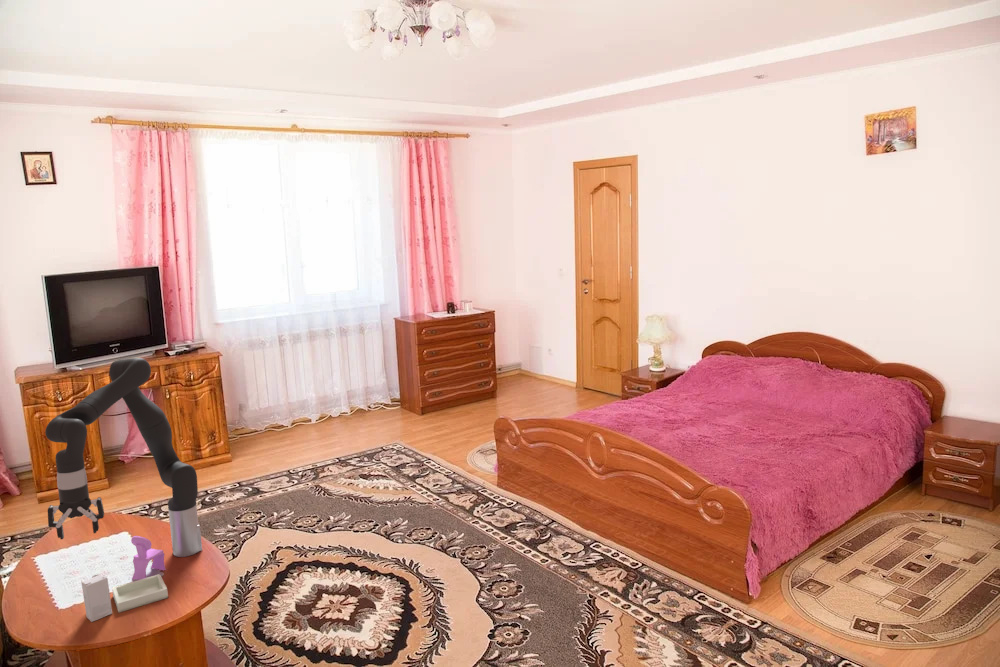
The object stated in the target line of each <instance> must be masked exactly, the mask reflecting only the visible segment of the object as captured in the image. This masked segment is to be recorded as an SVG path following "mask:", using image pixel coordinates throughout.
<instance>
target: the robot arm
mask: <svg viewBox="0 0 1000 667" xmlns="http://www.w3.org/2000/svg"><path fill="white" fill-rule="evenodd" d="M151 368H152V367H151V365H150V363H149V361H147V360H146V358H145V359H144V358H142V357H131V358H123V359H122V358H121V359H117V360H114V361H113V362H112V363H111V364H110V366H109V372H108V373H109V377H110V380H111V382H109V383H107V384H106V385H104V386H102V387H100V388H98V389H96V390H93V391H92V392H90V393H89V394H88V395H87V396H85V397H84V398H83V399H82V400H80V401H79V402H78V403H77V404H76V405H75V406H73V407H72V408H69V409H68V410H67V409H66V411H64V412H61V413H60V414H58V415H57V416H54V417H52V419H51V420H50V421H49V422H48V424H47V425H46V428H45V432H44V433H45V437H46V438H47V439H48V440H49V441H50V442H53V443H64V444H66V448H65V449H62V450H60V451H58V452H56V454H55V465H56V486H57V489H58V491H57V492H58V498H59V500H58V501H59V505H52V504H51V505H49V506H48V508H47V521H48V522H47V524H48V526H47V527H49V528H55V529H56V534H57V538H58V539H60V540H64V538H65V532H64V525H63V524H64V522H65V521H66V520H67V519H68V518H69V519H74V518H76V517H77V518H80V517H83V516H85V517H87V518H88V519H89V520H91V522H92V523H91V524H92V531H93V532H92V533H93V534H97V532H98V531H99V529H100V526H99V525H100V524H99V520H101V519H104V517H105V511H104V505H103V500H102V497H101V496H98V497H97V498H96V499H90V494H89V485H88V476H87V472H86V466H85V461H84V452H85V450H84V449H85V446H86V440H87V435H88V428H87V426H89V425H91V424H93V423H94V422H95V421H97V420H98V419H99V418H100V417H101V416H102V415H103V414H104V413H105V412H107V411H108V410H109V408H111V407H112V406H113V405H115V404H116V403H117V402H118V401H120V400H121V399H122V400H123V401H124V402H125V404H126V406H127V408H128V410H129V412H130V414H131V417H132V418H133V419H134V422H135V424H136V426H137V428H138V430H139V433H140V435H141V436H142V439H143V440H144V442H145V444H146V446H147V448H148V450H149V452H150V453H151V455H152V457H153V460H154V462H155V464H156V468H157V471H158V474H159V477H160V480H161V482H163V484H164V485H166V486H167V487H169V488H171V489H172V497H171V498H169V499H168V500H167V509H168V519H169V526H170V536H171V549H172V554H173V556H174V557H177V558H178V557H179V558H184V557H189V556H193V555H195V554H197V553H199V552H200V551H203V544H202V543H203V542H202V533H201V525H200V524H199V517H198V507H197V499H198V496H199V495H198V494H199V492H198V490H199V489H198V488H199V487H198V476H197V472H196V469H195V467H193V466H192V465H190V464H188V463H185V462H182V461H181V459H180V458H179V457H178V456H177V455H178V454H177V453H176V452H175V449H174V446H173V433H172V428H171V424H170V423H169V421H168V418H167V416H166V414H165V412H164V411H163V409H161V408H160V407H159V406H158V405H157V404H156V403H154V402H153V401H152V400H151V399H150V398H148V397H147V396H146V395H145V394H144V393H143V392H142V390H141V389H140V387H141V386H142V385H144V384H145V383H146V382H148V381H149V379H150V378H151V375H152V374H151V373H152V369H151ZM91 505H93V506H94V507H96V508H97V512H98V514H97V513H95V512H94V511H93V510H92V509H91ZM58 510H59V512H60V513H62V515H61V516H60V518H59V519H58V521H56V520H55V514H56V513H57V511H58Z"/></svg>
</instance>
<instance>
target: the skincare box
mask: <svg viewBox="0 0 1000 667" xmlns="http://www.w3.org/2000/svg"><path fill="white" fill-rule="evenodd" d="M97 575H98V576H96V577H93V576H92V577H93V578H92V577H91V578H87V579H85V580H83V581H81V588H82V593H83V594H82V595H83V602H84V608H85V609H84V610H85V615H86V616H85V617H86V618H87V619H88V620H89V621H90V622H91V623H93V622H96V621H97V620H101V619H102V618H103V619H104V618H105V617H106V616H110V615H112V614H113V610H112V600H111V595H110V594H111V593H110V588H109V581H108V580H109V578H108V577H107V576H105V575H104V574H102V573H101V574H97Z"/></svg>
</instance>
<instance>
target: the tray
mask: <svg viewBox="0 0 1000 667" xmlns="http://www.w3.org/2000/svg"><path fill="white" fill-rule="evenodd" d="M111 588H112V597H113V600H114V603H115V605H116V609H117V612H118V613H122V612H125V611H129V610H132V609H136V608H139V607H141V606H142V607H143V606H146V605H148V604H152V603H155V602H158V601H162V600H165V599H168V598H169V592H168V587H167V585H166V584H165V581H164V579H163V577H162V576H161V573H159V574H155V575H151V576H148V577H147V576H146V578H144V579H140V580H134V581H131V582H127V583H124V584H123V583H122V584H120V585H117V586H113V587H111Z"/></svg>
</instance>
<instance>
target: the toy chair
mask: <svg viewBox="0 0 1000 667" xmlns="http://www.w3.org/2000/svg"><path fill="white" fill-rule="evenodd" d="M130 541H131V544H132V545H133V546H135V548H136V553H137V554H135V555H133V560H132V563H133V564H132V565H133V568H134V572H133V575H132V578H131V579H132V580H133V579H134V581H137V580H140V579H144V578H147V568H148V565H149V563H150V561H152V563H151V566H150V569H153V568H154V569H153V570H158V569H159V570H160V571H164V570H165V571H166V570H167V569H166V566H165V553H164V550H163V549H156V548H152V541H151V539H148V538H147V537H143V536H139V535H134V536H132V537H131V540H130ZM135 579H136V580H135Z"/></svg>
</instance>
